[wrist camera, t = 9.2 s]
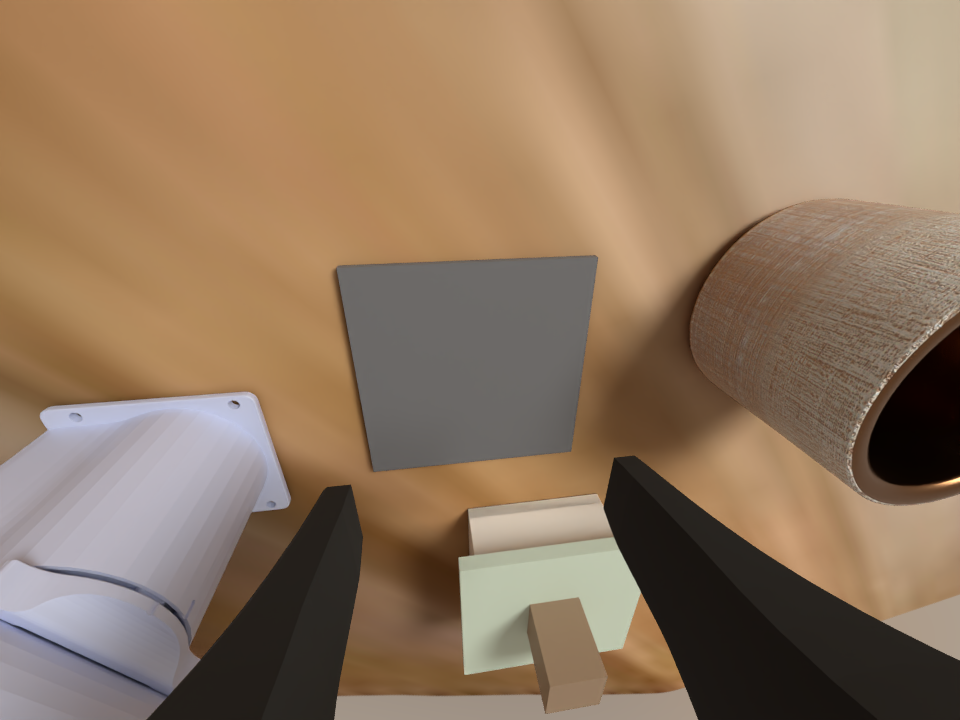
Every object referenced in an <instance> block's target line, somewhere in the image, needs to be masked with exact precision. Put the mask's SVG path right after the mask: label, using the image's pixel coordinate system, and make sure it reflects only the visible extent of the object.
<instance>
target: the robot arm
mask: <svg viewBox="0 0 960 720" xmlns="http://www.w3.org/2000/svg"><path fill="white" fill-rule="evenodd" d="M232 400H233V401H237V402H238V403H239V404H240V405H237V404H234V403H233V402H232ZM78 414H80V415H81V416H82V417H81V416H79V415H78ZM40 419H41V421H42V422H43V424H44V425H45V427H46V428H47V429H48V430H47V431H46V432H45V433H43V434H42V435H41V436H39V437H38V438H37V439H35V440H34V441H33V442H31V443H30V444H29V445H27V446H26V447H25V448H23V449H22V450H21V451H19V452H18V453H17V454H15V455H14V456H13V457H11V458H10V459H9V460H7V461H6V462H5V463H3V464H2V465H1V466H0V720H334V716H335V708H336V700H337V694H338V687H339V681H340V675H341V670H342V665H343V660H344V655H345V650H346V645H347V639H348V634H349V629H350V624H351V619H352V614H353V609H354V603H355V598H356V593H357V588H358V582H359V576H360V565H361V553H362V541H363V536H362V531H361V527H360V522H359V518H358V514H357V509H356V505H355V500H354V496H353V491H352V487H351V485H344V486H334V487H327V488H326V489H325V490H324V491H323V492H322V494H321V495H320V497H319V499H318V500H317V502H316V504H315V505H314V507H313V508H312V510H311V512H310V513H309V515H308V517H307V518H306V520H305V521H304V523H303V524H302V526H301V527H300V529H299V531H298V532H297V534H296V535H295V537H294V538H293V540H292V541H291V543H290V544H289V545H288V547H287V548H286V550H285V551H284V553H283V554H282V556H281V557H280V559H279V560H278V561H277V563H276V564H275V566H274V567H273V569H272V570H271V571H270V573H269V574H268V576H267V577H266V578H265V580H264V581H263V582H262V584H261V585H260V586H259V588H258V589H257V590H256V592H255V593H254V594H253V596H252V597H251V598H250V600H249V601H248V602H247V604H246V605H245V606H244V608H243V609H242V610H241V611H240V613H239V614H238V615H237V616H236V618H235V619H234V620H233V621H232V623H231V624H230V625H229V626H228V628H227V629H226V630H225V631H224V633H223V634H222V635H221V636H220V637H219V639H218V640H217V641H216V642H215V643H214V644H213V646H212V647H211V648H210V649H209V650H208V652H207V653H206V654H205V655H204V656H203V657H202V659H199V658H198V657H196V656H195V655H194V654H193V653H192V652H191V651H190V649H189V647H190V645H191V642H192V640H193V638H194V636H195V634H196V632H197V629H198V627H199V625H200V623H201V621H202V619H203V616H204V614H205V612H206V610H207V608H208V606H209V603H210V601H211V599H212V597H213V595H214V593H215V590H216V588H217V586H218V584H219V582H220V580H221V577H222V575H223V573H224V571H225V569H226V567H227V564H228V562H229V560H230V558H231V556H232V554H233V552H234V549H235V547H236V545H237V543H238V541H239V539H240V536H241V534H242V532H243V530H244V528H245V526H246V523H247V521H248V519H249V517H250V515H251V513H252V512H258V511H267V510H276V509H283V508H286V507H288V506H289V504H290V501H291V497H290V494H289V491H288V488H287V485H286V482H285V479H284V476H283V473H282V470H281V467H280V464H279V461H278V458H277V455H276V452H275V449H274V446H273V443H272V440H271V437H270V434H269V431H268V428H267V425H266V422H265V419H264V416H263V413H262V410H261V407H260V404H259V401H258V399H257V397H256V396H255V395H254V394H253V393H250V392H234V393H221V394H208V395H195V396H181V397H168V398H155V399H142V400H129V401H115V402H102V403H89V404H76V405H63V406H52V407H48V408H47V409H45V410H44V411H42V412H41V413H40ZM271 501H273V502H271ZM603 509H604V512H605V515H606V517H607V520H608V523H609V526H610V528H611V531H612V534H613V536H614V539H615V541H616V544H617V546H618V548H619V550H620V552H621V554H622V556H623V558H624V560H625V562H626V564H627V566H628V568H629V570H630V572H631V574H632V576H633V577H634V579H635V581H636V583H637V585H638V587H639V589H640V591H641V593H642V595H643V597H644V599H645V601H646V603H647V604H648V606H649V608H650V610H651V612H652V614H653V616H654V618H655V620H656V622H657V624H658V626H659V628H660V630H661V632H662V634H663V636H664V638H665V640H666V642H667V644H668V647H669V649H670V651H671V654H672V656H673V658H674V661H675V663H676V666H677V668H678V670H679V673H680V675H681V678H682V680H683V682H684V685H685V687H686V690H687V692H688V694H689V697H690V700H691V702H692V705H693V707H694V710H695V712H696V715H697V717H698V720H960V660H957V659H955V658H953V657H951V656H949V655H947V654H945V653H943V652H940V651H938V650H936V649H934V648H932V647H930V646H928V645H926V644H924V643H922V642H920V641H918V640H916V639H914V638H912V637H910V636H908V635H906V634H904V633H902V632H900V631H898V630H896V629H894V628H893V627H891V626H889V625H887V624H885V623H883V622H881V621H879V620H877V619H875V618H874V617H872V616H870V615H868V614H866V613H864V612H862V611H860V610H859V609H857V608H855V607H853V606H852V605H850V604H848V603H846V602H844V601H843V600H841V599H839V598H837V597H836V596H834V595H832V594H830V593H828V592H827V591H825V590H823V589H821V588H820V587H818V586H816V585H815V584H813V583H811V582H810V581H808V580H806V579H805V578H803V577H801V576H800V575H798V574H796V573H795V572H793V571H792V570H790V569H788V568H787V567H785V566H784V565H782V564H781V563H779V562H777V561H776V560H774V559H773V558H771V557H769V556H768V555H766V554H765V553H763V552H762V551H760V550H759V549H757V548H756V547H754V546H753V545H751V544H750V543H749V542H747V541H746V540H744V539H743V538H741V537H740V536H739V535H737V534H736V533H734V532H733V531H732V530H730V529H729V528H727V527H726V526H725V525H723V524H722V523H720V522H719V521H718V520H716V519H715V518H714V517H712V516H711V515H710V514H708V513H707V512H706V511H704V510H703V509H702V508H700V507H699V506H698V505H696V504H695V503H694V502H693V501H691V500H690V499H689V498H687V497H686V496H685V495H684V494H682V493H681V492H680V491H679V490H677V489H676V488H675V487H674V486H672V485H671V484H670V483H669V482H667V481H666V480H665V479H664V478H662V477H661V476H660V475H659V474H657V473H656V472H655V471H654V470H652V469H651V468H650V467H649V466H647V465H646V464H645V463H644V462H642V461H641V460H640V459H638V458H637V457H636V456H627V457H617V458H614V461H613V465H612V470H611V475H610V479H609V484H608V489H607V494H606V498H605V503H604V508H603Z"/></svg>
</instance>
